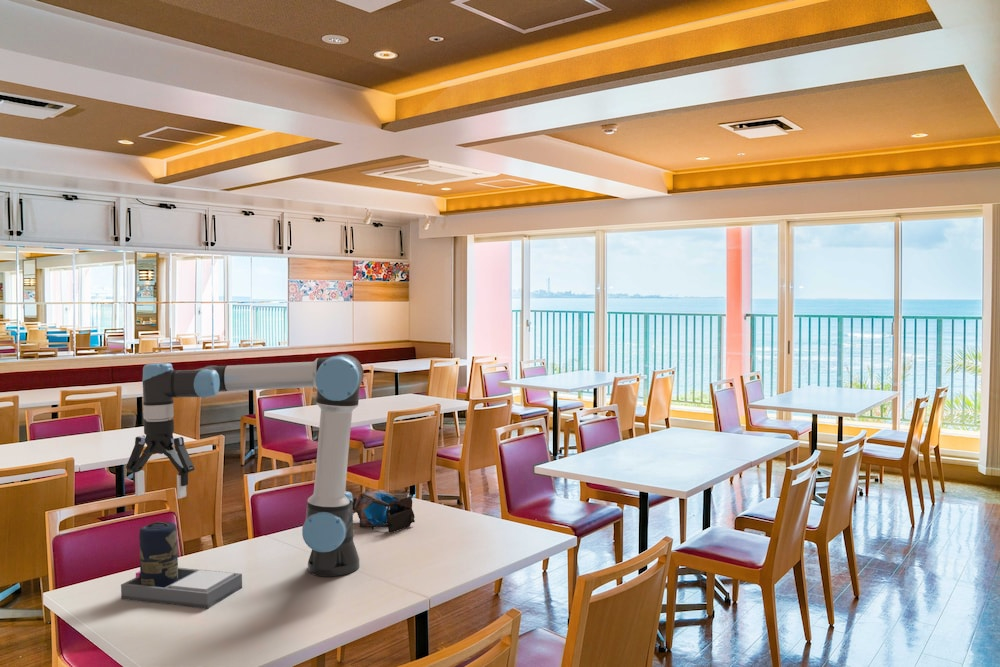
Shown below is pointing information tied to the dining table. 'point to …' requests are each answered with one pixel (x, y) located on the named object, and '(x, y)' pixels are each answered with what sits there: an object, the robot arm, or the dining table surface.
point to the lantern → (383, 510)
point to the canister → (158, 554)
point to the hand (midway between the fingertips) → (160, 496)
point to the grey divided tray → (186, 588)
